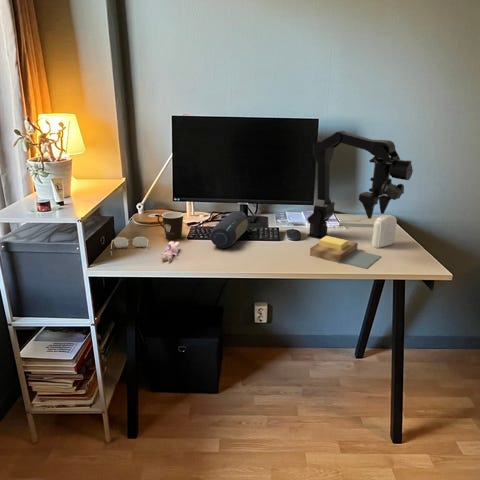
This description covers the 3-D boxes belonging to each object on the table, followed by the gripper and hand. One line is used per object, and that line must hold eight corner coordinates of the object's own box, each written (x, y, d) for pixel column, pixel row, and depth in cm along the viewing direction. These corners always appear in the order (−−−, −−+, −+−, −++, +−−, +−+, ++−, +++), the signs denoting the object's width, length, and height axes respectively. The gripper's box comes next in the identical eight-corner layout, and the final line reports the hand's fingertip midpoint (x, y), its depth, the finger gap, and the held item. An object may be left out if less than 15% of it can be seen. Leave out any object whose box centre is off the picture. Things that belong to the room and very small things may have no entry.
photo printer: (386, 241, 191) (390, 212, 186) (395, 244, 187) (399, 214, 183) (369, 245, 185) (372, 216, 181) (378, 249, 182) (381, 219, 178)
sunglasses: (149, 247, 184) (148, 236, 181) (147, 258, 177) (146, 247, 174) (113, 248, 182) (111, 237, 180) (110, 259, 175) (108, 248, 173)
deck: (310, 255, 175) (310, 248, 174) (328, 243, 187) (329, 236, 186) (339, 263, 169) (339, 255, 168) (357, 250, 181) (357, 242, 180)
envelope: (384, 229, 207) (377, 219, 220) (384, 224, 206) (377, 215, 219) (330, 226, 208) (326, 217, 221) (330, 221, 207) (326, 213, 220)
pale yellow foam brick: (319, 244, 178) (319, 239, 177) (326, 240, 182) (326, 235, 181) (340, 250, 173) (341, 245, 172) (347, 245, 177) (347, 240, 176)
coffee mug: (187, 238, 192) (187, 215, 188) (168, 242, 187) (167, 219, 184) (175, 231, 201) (174, 208, 197) (156, 234, 196) (155, 212, 193)
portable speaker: (232, 252, 178) (232, 227, 175) (208, 249, 181) (207, 225, 178) (251, 231, 201) (251, 209, 197) (229, 229, 204) (229, 207, 200)
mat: (340, 262, 169) (340, 261, 169) (355, 250, 180) (356, 250, 180) (366, 268, 164) (366, 268, 164) (381, 256, 174) (381, 256, 174)
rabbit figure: (174, 266, 168) (184, 246, 181) (172, 252, 165) (182, 232, 178) (157, 266, 169) (168, 245, 182) (155, 252, 166) (167, 232, 179)
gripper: (388, 183, 159) (382, 226, 165) (413, 175, 171) (407, 216, 177) (360, 177, 167) (355, 219, 172) (386, 170, 179) (381, 209, 184)
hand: (376, 216), depth 176 cm, fingers open, 9 cm apart
